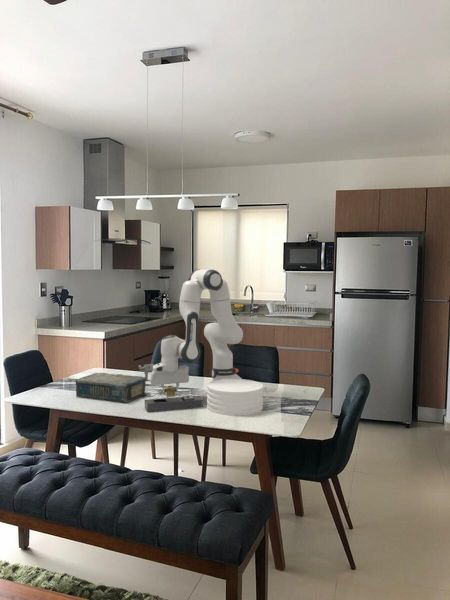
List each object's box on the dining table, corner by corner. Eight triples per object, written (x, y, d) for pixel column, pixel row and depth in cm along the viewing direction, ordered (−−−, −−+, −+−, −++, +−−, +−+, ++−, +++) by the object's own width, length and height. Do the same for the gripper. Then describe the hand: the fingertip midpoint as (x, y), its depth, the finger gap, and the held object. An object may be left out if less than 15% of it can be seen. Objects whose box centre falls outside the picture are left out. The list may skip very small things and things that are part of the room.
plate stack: (230, 397, 264) (230, 376, 264) (273, 406, 247) (273, 384, 246) (195, 408, 243) (195, 385, 242) (239, 419, 225) (240, 395, 224)
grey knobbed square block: (190, 405, 248) (190, 395, 247) (192, 407, 244) (193, 397, 243) (182, 405, 246) (182, 395, 246) (184, 408, 242) (184, 397, 242)
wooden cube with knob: (173, 394, 261) (173, 384, 261) (175, 396, 257) (174, 386, 256) (165, 395, 260) (165, 385, 259) (166, 397, 256) (166, 387, 255)
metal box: (125, 404, 249) (125, 385, 248) (73, 397, 260) (73, 379, 260) (147, 394, 268) (147, 376, 268) (98, 388, 280) (98, 371, 280)
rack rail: (198, 403, 251) (198, 395, 251) (203, 407, 243) (203, 399, 243) (144, 407, 242) (144, 399, 242) (147, 412, 234) (147, 403, 234)
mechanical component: (137, 380, 300) (137, 364, 299) (154, 379, 303) (154, 363, 303) (138, 381, 297) (138, 365, 297) (155, 380, 300) (155, 364, 300)
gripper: (187, 363, 263) (187, 388, 264) (149, 366, 257) (150, 391, 258) (190, 365, 257) (190, 391, 258) (151, 368, 251) (152, 395, 252)
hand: (170, 391), depth 258 cm, fingers closed on wooden cube with knob, 4 cm apart
